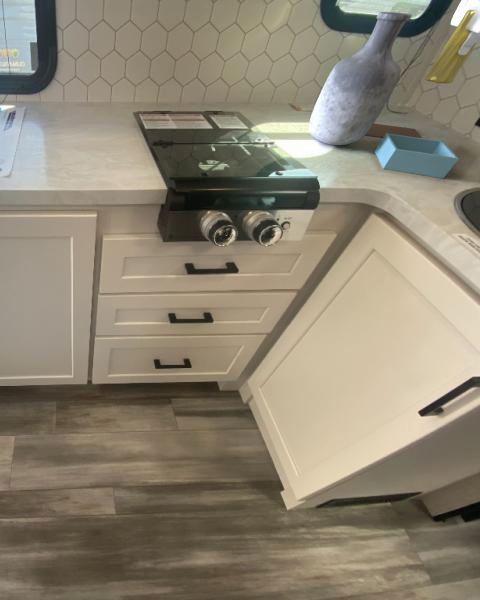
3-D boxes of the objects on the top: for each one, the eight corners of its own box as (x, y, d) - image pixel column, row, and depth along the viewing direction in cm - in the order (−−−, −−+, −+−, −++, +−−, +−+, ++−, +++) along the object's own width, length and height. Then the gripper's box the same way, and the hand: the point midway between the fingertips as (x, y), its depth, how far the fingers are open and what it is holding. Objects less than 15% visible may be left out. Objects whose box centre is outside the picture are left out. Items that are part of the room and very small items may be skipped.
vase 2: (423, 77, 94) (464, 9, 84) (451, 80, 91) (497, 10, 81) (423, 81, 90) (467, 10, 80) (453, 84, 88) (501, 12, 78)
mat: (414, 130, 114) (414, 128, 113) (425, 144, 104) (426, 142, 104) (352, 121, 118) (353, 120, 118) (358, 134, 109) (358, 133, 109)
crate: (429, 159, 95) (442, 141, 92) (443, 178, 87) (459, 158, 83) (374, 151, 99) (385, 133, 95) (382, 168, 90) (395, 149, 87)
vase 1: (352, 136, 108) (420, 12, 87) (366, 155, 97) (448, 18, 76) (297, 130, 111) (350, 9, 90) (304, 147, 100) (367, 14, 79)
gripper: (545, -22, 69) (487, 60, 79) (501, -23, 83) (457, 47, 92) (506, -23, 71) (454, 58, 81) (469, -24, 85) (429, 45, 94)
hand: (455, 52), depth 87 cm, fingers closed on vase 2, 5 cm apart
